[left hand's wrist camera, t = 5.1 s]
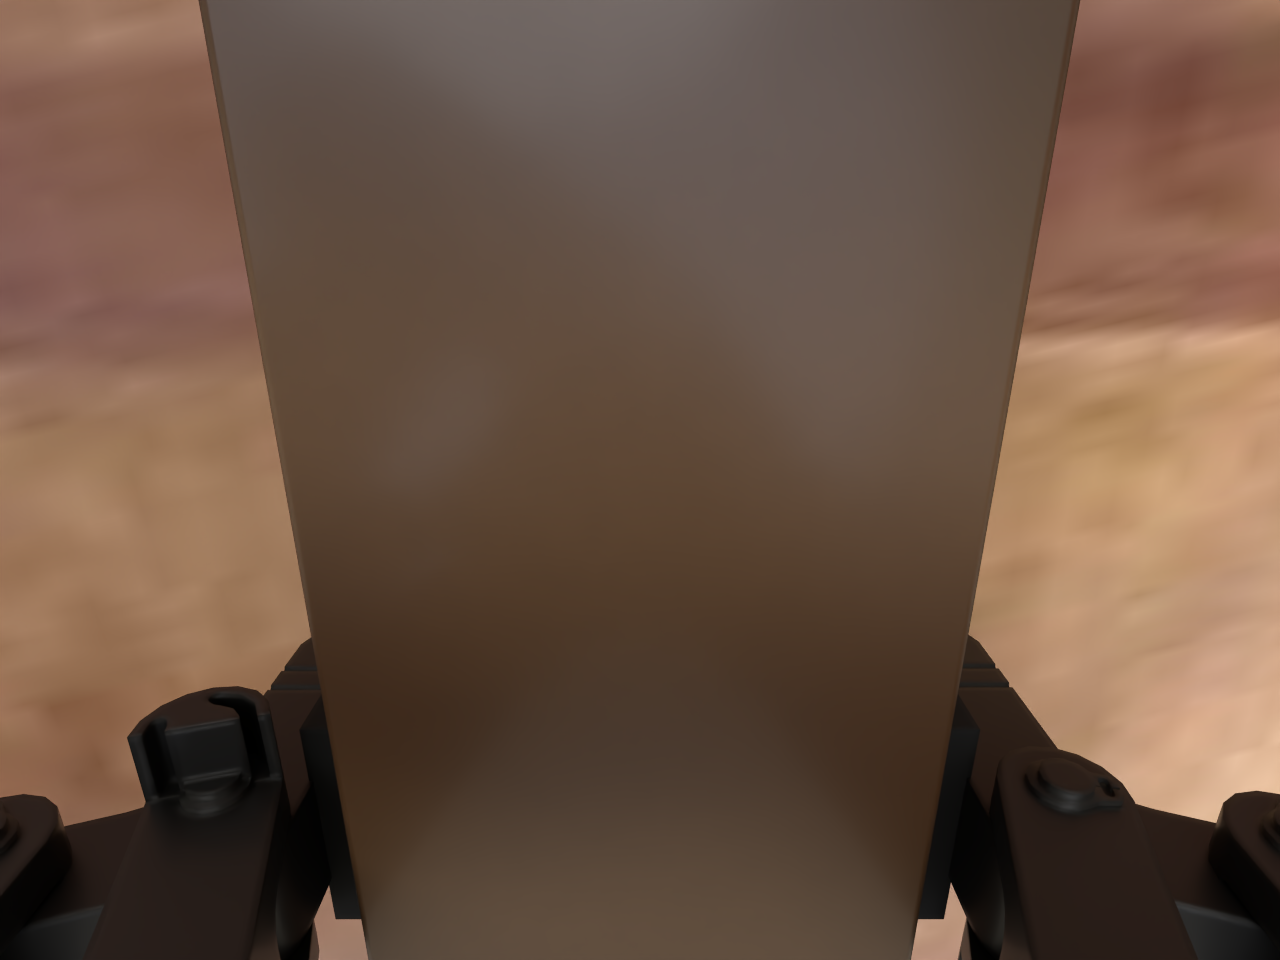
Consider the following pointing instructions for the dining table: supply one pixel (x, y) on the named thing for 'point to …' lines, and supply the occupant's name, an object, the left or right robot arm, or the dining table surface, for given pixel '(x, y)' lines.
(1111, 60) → the dining table surface
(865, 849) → the post
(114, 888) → the left robot arm
